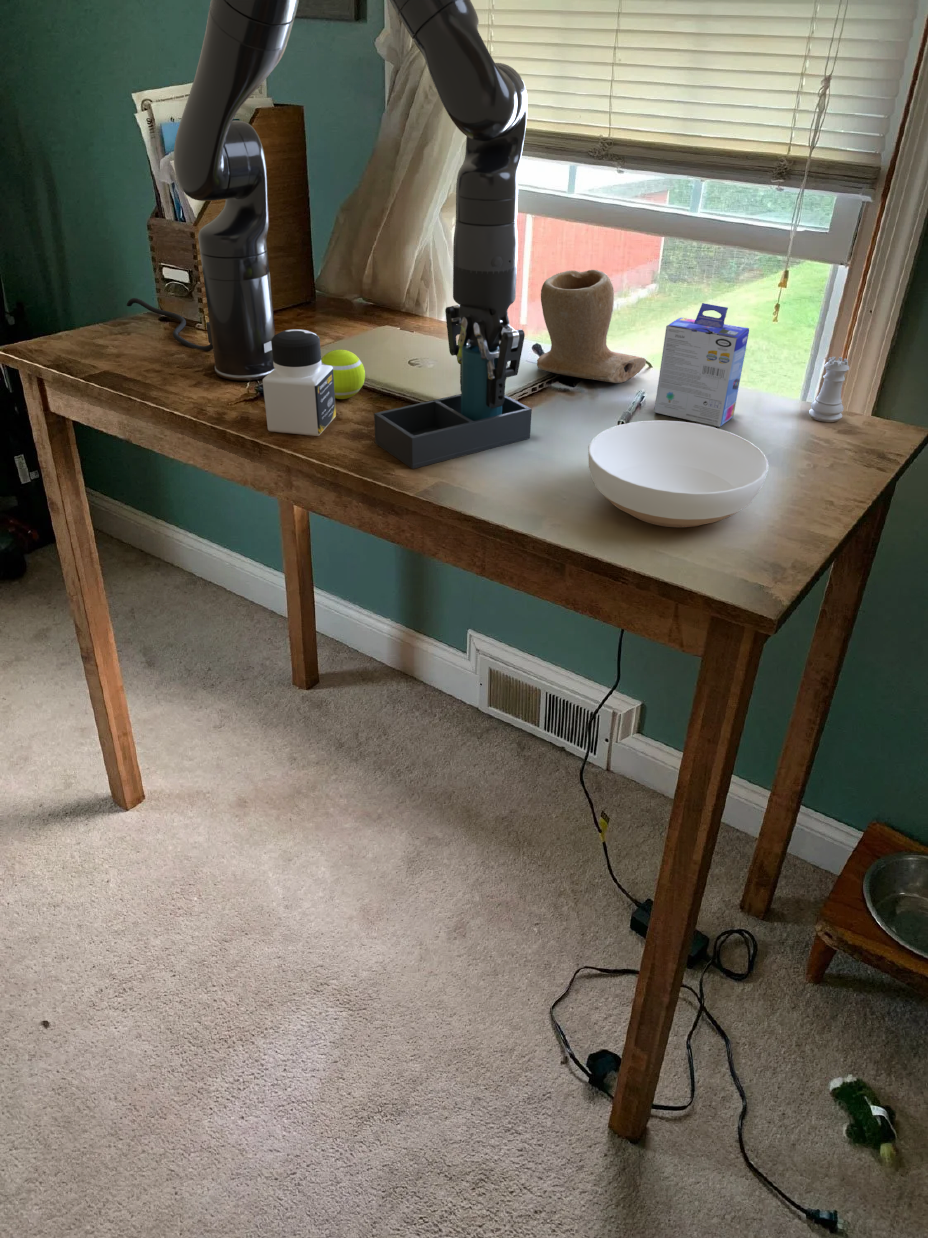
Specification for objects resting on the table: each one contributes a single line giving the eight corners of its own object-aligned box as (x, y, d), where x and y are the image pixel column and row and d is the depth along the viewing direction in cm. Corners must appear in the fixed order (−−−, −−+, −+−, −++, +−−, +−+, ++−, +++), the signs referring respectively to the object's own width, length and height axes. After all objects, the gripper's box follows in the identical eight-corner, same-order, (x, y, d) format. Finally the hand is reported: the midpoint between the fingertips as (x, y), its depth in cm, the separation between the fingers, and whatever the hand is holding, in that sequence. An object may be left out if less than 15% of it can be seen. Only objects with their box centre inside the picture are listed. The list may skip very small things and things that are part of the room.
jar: (453, 414, 122) (454, 345, 117) (486, 406, 125) (488, 338, 119) (476, 427, 118) (477, 357, 113) (509, 419, 121) (512, 350, 116)
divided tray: (374, 443, 120) (373, 413, 118) (489, 415, 128) (490, 386, 126) (412, 469, 114) (411, 438, 111) (530, 438, 122) (532, 408, 120)
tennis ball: (362, 406, 130) (360, 359, 126) (314, 405, 130) (310, 357, 127) (369, 389, 136) (367, 343, 132) (322, 388, 136) (319, 342, 132)
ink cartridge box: (735, 416, 129) (755, 309, 121) (722, 429, 125) (741, 319, 117) (667, 401, 134) (682, 297, 126) (652, 413, 130) (666, 306, 122)
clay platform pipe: (520, 377, 141) (525, 273, 132) (556, 356, 149) (563, 257, 141) (613, 398, 134) (625, 290, 126) (646, 374, 143) (659, 272, 134)
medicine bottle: (319, 437, 121) (312, 344, 114) (267, 432, 122) (257, 339, 116) (336, 416, 127) (331, 327, 120) (286, 412, 128) (278, 323, 121)
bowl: (630, 454, 118) (636, 407, 115) (782, 496, 109) (794, 446, 106) (551, 512, 105) (555, 461, 101) (718, 565, 96) (728, 511, 92)
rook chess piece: (802, 416, 130) (815, 359, 125) (816, 408, 132) (830, 351, 128) (833, 425, 127) (847, 367, 123) (847, 416, 130) (861, 359, 125)
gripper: (547, 269, 108) (539, 411, 117) (477, 244, 117) (474, 377, 127) (494, 278, 104) (489, 423, 113) (425, 251, 114) (426, 387, 123)
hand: (481, 398), depth 120 cm, fingers closed on jar, 5 cm apart
